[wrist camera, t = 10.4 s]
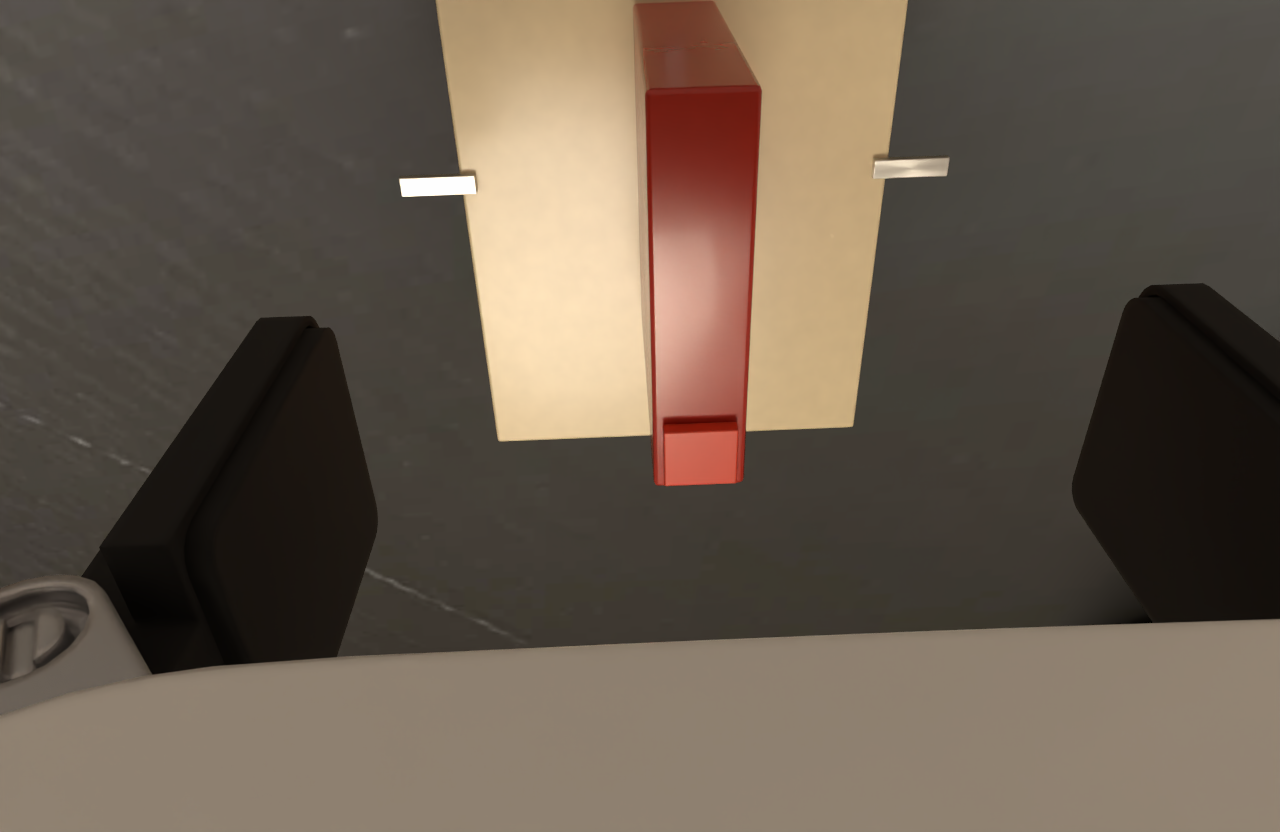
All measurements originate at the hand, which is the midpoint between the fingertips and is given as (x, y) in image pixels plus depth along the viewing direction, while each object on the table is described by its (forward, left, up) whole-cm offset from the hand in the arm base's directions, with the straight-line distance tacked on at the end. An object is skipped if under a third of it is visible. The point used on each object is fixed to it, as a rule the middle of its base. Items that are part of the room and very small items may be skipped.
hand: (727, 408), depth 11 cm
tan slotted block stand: (0, 0, -11) cm, 11 cm away
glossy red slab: (0, 0, -7) cm, 7 cm away
